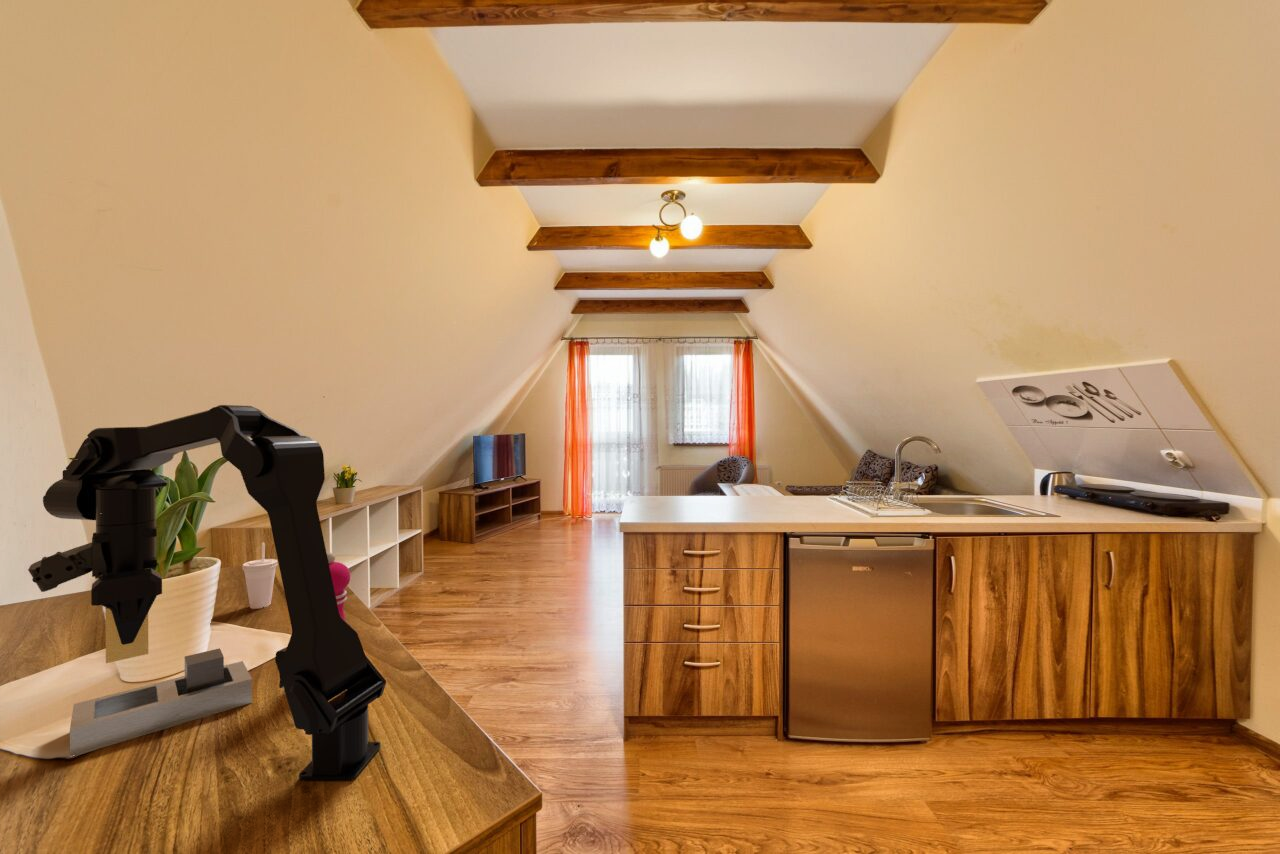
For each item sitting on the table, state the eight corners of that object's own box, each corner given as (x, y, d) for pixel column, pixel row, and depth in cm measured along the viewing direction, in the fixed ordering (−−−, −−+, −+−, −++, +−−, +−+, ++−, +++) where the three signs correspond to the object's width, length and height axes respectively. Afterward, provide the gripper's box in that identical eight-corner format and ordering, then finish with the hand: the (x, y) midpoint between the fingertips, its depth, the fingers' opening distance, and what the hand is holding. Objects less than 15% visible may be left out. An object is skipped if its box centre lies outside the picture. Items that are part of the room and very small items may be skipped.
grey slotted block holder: (242, 683, 83) (242, 638, 83) (251, 702, 77) (251, 654, 77) (73, 730, 70) (73, 677, 70) (70, 757, 64) (69, 700, 64)
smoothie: (283, 604, 119) (283, 541, 118) (250, 613, 113) (250, 547, 113) (269, 599, 122) (269, 538, 122) (237, 607, 117) (236, 543, 116)
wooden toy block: (148, 653, 71) (148, 601, 71) (105, 663, 68) (105, 608, 68) (147, 644, 73) (146, 594, 73) (106, 653, 71) (105, 601, 71)
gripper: (42, 520, 71) (43, 635, 72) (25, 542, 58) (26, 684, 58) (154, 510, 79) (155, 614, 79) (161, 528, 66) (162, 653, 66)
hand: (127, 638), depth 71 cm, fingers closed on wooden toy block, 4 cm apart
